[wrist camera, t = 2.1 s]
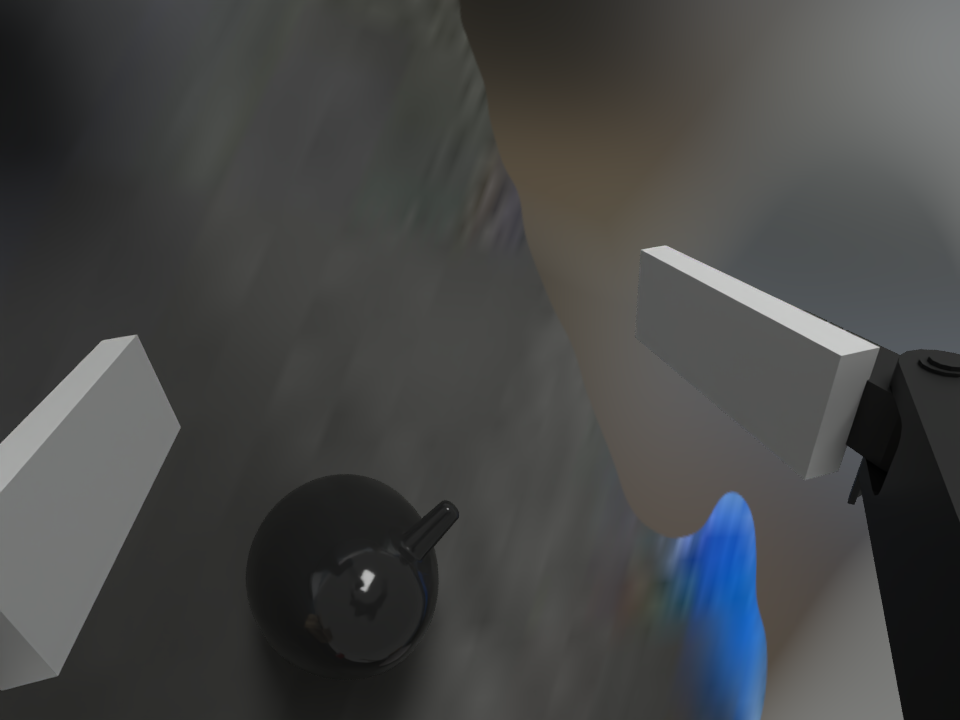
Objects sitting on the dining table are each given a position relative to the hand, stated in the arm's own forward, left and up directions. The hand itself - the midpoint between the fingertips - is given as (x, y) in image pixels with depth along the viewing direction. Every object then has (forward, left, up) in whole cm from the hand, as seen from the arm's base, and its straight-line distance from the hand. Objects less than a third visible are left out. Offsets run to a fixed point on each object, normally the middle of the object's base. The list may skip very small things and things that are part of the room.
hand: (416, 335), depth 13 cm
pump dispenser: (+5, -8, -24) cm, 26 cm away
